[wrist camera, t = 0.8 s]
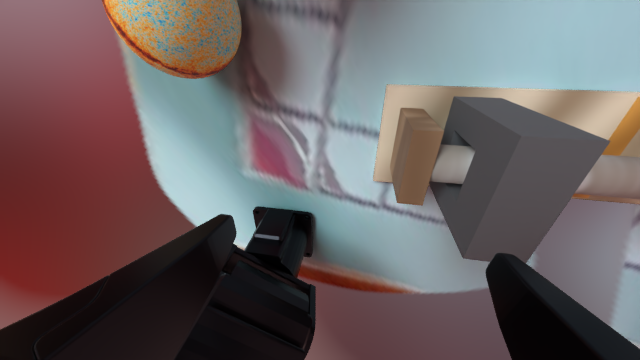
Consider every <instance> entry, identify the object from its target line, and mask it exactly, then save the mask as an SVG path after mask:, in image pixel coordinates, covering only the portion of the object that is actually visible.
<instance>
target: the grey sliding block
mask: <svg viewBox="0 0 640 360" xmlns="http://www.w3.org/2000/svg"><path fill="white" fill-rule="evenodd" d="M610 142H611V141H609V140H606V139H604V138H601V137H599V136H596V135H594V134H591V133H589V132H586V131H584V130H581V129H579V128H576V127H574V126H571V125H569V124H566V123H563V122H561V121H558V120H556V119H553V118H551V117H548V116H546V115H543V114H541V113H538V112H536V111H533V110H531V109H528V108H526V107H523V106H521V105H518V104H515V103H513V102H510V101H508V100H505V99H503V98H486V97H458V96H454V97H453V101H452V104H451V108H450V111H449V115H448V118H447V121H446V125H445V128H444V133H443V137H442V140H441V144H442V145H457V146H472V147H473V148H474V149H475V150H476V151H475V154H474V156H473V159H472V161H471V164H470V167H469V169H468V172H467V174H466V177H465V180H464V182H463V184H455V183H444V182H432V181H429V185H430V187H431V190H432V192H433V194H434V196H435V198H436V200H437V203H438V205H439V207H440V209H441V211H442V213H443V216H444V218H445V220H446V222H447V224H448V227H449V229H450V231H451V233H452V235H453V237H454V240H455V242H456V244H457V246H458V248H459V251H460V253H461V255H462V257H463V258H465V259H472V260H480V261H488V262H491V260H492V259H493V257H494V255H495V254H496V253H499V252H501V253H508V254H513V255H515V256H516V257H518V258H519V259H520V260H522V261H523V262H524V263H526V262H527V261H528V259H529V258H530V256H531V255H532V254H533V252H534V251H535V249H536V248H537V246H538V245H539V244H540V242H541V241H542V239H543V238H544V236H545V235H546V234H547V232H548V231H549V229H550V228H551V226H552V225H553V223H554V222H555V220H556V219H557V217H558V216H559V215H560V213H561V212H562V210H563V209H564V208H565V206H566V205H567V203H568V202H569V200H570V199H571V198H572V196H573V195H574V193H575V192H576V190H577V189H578V188H579V186H580V185H581V183H582V182H583V180H584V179H585V178H586V176H587V175H588V173H589V172H590V170H591V169H592V167H593V166H594V165H595V163H596V162H597V160H598V159H599V157H600V156H601V155H602V153H603V152H604V150H605V149H606V147H607V146H608V145H609V143H610Z"/></svg>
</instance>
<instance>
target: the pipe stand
mask: <svg viewBox="0 0 640 360" xmlns="http://www.w3.org/2000/svg"><path fill="white" fill-rule="evenodd" d="M454 96H458V97H486V98H503V99H505V100H508V101H510V102H513V103H515V104H518V105H521V106H523V107H526V108H528V109H531V110H533V111H536V112H538V113H541V114H543V115H546V116H548V117H551V118H553V119H556V120H558V121H561V122H563V123H566V124H569V125H571V126H574V127H576V128H579V129H581V130H584V131H586V132H589V133H591V134H594V135H596V136H599V137H601V138H604V139H606V140H609V141H611V142H610V143H609V145H608V146H607V147H606V149H605V150H604V152H603V153H602V155H601V156H600V157H599V159H598V160H597V162H596V163H595V165H594V166H593V167H592V169H591V170H590V172H589V173H588V175H587V176H586V178H585V179H584V180H583V182H582V183H581V185H580V186H579V188H578V189H577V190H576V192H575V193H574V195H573V196H572V198H574V199H585V200H596V201H608V202H619V203H630V204H640V92H626V91H592V90H559V89H525V88H492V87H459V86H425V85H392V84H387V85H386V92H385V99H384V106H383V113H382V120H381V127H380V134H379V141H378V147H377V154H376V161H375V168H374V175H373V181H380V182H392V183H393V185H394V190H395V195H396V200H397V203H403V204H413V205H423V202H424V198H425V195H426V191H427V188H428V186H430V185H429V181H432V182H444V183H455V184H463V182H464V180H465V177H466V174H467V172H468V169H469V167H470V164H471V161H472V159H473V156H474V154H475V151H476V150H475V149H474V148H473V147H472V146H457V145H442V144H441V140H442V137H443V133H444V128H445V125H446V121H447V118H448V115H449V111H450V108H451V104H452V101H453V97H454Z"/></svg>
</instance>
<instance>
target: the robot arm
mask: <svg viewBox="0 0 640 360" xmlns="http://www.w3.org/2000/svg"><path fill="white" fill-rule="evenodd" d="M258 211H259V212H258ZM253 214H254V220H255V225H256V230H255V232H254V234H253V236H252V238H251V240H250V242H249V243H248V245H247V247H246V248H245V250H242V249H240V248H238V247H237V246H236V245H235V244H233V242H234V240H235V238H236V228H235V224H234V220H233V217H232V216H231V215H225V214H220V215H218V216H216V217H214V218H213V219H211V220H209V221H207V222H205V223H203V224H202V225H200V226H198V227H196V228H194V229H193V230H191V231H189V232H187V233H185V234H183V235H181V236H179V237H178V238H176V239H174V240H172V241H171V242H169V243H167V244H165V245H163V246H161V247H159V248H158V249H155V250H154V251H152V252H150V253H148V254H146V255H144V256H143V257H141V258H139V259H137V260H135V261H133V262H131V263H130V264H128V265H126V266H124V267H122V268H121V269H119V270H117V271H115V272H113V273H111V274H110V276H106V277H104V278H102V279H100V280H98V281H97V282H95V283H93V284H91V285H89V286H87V287H85V288H83V289H81V290H79V291H77V292H76V293H74V294H72V295H70V296H68V297H66V298H64V299H62V300H60V301H58V302H56V303H54V304H52V305H50V306H48V307H46V308H44V309H42V310H40V311H38V312H36V313H34V314H31V315H29V316H27V317H25V318H23V319H21V320H19V321H17V322H15V323H13V324H11V325H9V326H7V327H5V328H3V329H1V330H0V360H304V359H305V357H306V355H307V353H308V351H309V349H310V346H311V343H312V340H313V336H314V331H315V286H313V285H311V284H307V283H305V282H303V281H302V280H299V279H298V278H297V277H298V273H299V270H300V267H301V263H302V260H303V256H304V257H311V256H312V253H313V236H312V214H311V213H309V212H302V211H293V210H284V209H275V208H266V207H255V209H254V210H253ZM306 216H307V217H309V218H307V217H306ZM486 278H487V282H488V286H489V289H490V293H491V297H492V300H493V304H494V308H495V312H496V316H497V319H498V323H499V326H500V329H501V332H502V334H503V337H504V340H505V342H506V344H507V348H508V350H509V353H510V356H511V358H512V360H640V349H639V348H638V347H636V346H635V345H634V344H632V343H631V342H630V341H628V340H627V339H626V338H624V337H623V336H622V335H620V334H619V333H618V332H616V331H615V330H614V329H612V328H611V327H610V326H608V325H607V324H606V323H604V322H603V321H601V320H600V319H599V318H598V317H596V316H595V315H594V314H592V313H591V312H590V311H588V310H587V309H586V308H584V307H583V306H582V305H580V304H579V303H578V302H576V301H575V300H574V299H572V298H571V297H570V296H568V295H567V294H566V293H564V292H563V291H561V290H560V289H559V288H558V287H556V286H555V285H554V284H552V283H551V282H550V281H548V280H547V279H546V278H544V277H543V276H542V275H540V274H539V273H538V272H536V271H535V270H534V269H532V268H531V267H530V266H528V265H527V264H526V263H524V262H523V261H522V260H520V259H519V258H518V257H516V256H515V255H513V254H508V253H501V252H499V253H496V254H495V255H494V257H493V259H492V260H491V262H490V263H489V265H488V267H487V268H486Z"/></svg>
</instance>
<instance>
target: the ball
mask: <svg viewBox="0 0 640 360" xmlns="http://www.w3.org/2000/svg"><path fill="white" fill-rule="evenodd" d="M102 2H103V5H104V8H105V11H106V13H107V16H108V18H109V20H110V22H111V24H112V26H113V27H114V29H115V30H116V32H117V33H118V35H119V36H120V38H121V39H122V40H123V41H124V43H125V44H126V45H127V46H128V47H129V48H130V49H131V50H132V51H133V52H134V53H135V54H136V55H137V56H139V57H140V58H141V59H142V60H144V61H145V62H146V63H148V64H149V65H151V66H153V67H154V68H156V69H158V70H160V71H162V72H165V73H167V74H170V75H173V76H177V77H181V78H189V79H197V78H204V77H208V76H211V75H214V74H216V73H218V72H220V71H221V70H223V69H224V68H225V67H226V66H227V65H228V64H229V63H230V62H231V60H232V59H233V58H234V56H235V54H236V52H237V50H238V47H239V43H240V39H241V16H240V11H239V7H238V3H237V0H102Z"/></svg>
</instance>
